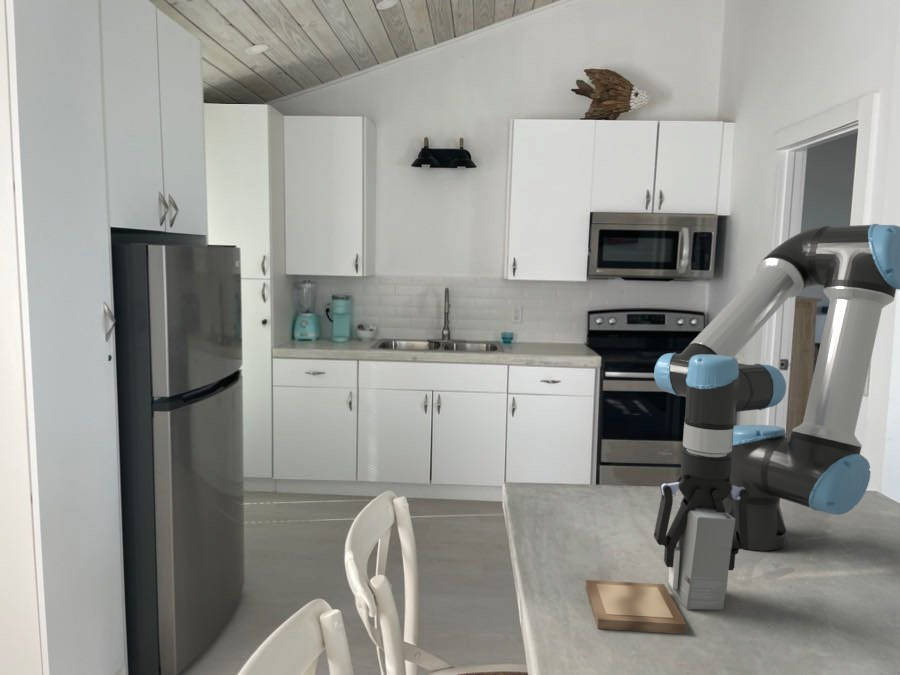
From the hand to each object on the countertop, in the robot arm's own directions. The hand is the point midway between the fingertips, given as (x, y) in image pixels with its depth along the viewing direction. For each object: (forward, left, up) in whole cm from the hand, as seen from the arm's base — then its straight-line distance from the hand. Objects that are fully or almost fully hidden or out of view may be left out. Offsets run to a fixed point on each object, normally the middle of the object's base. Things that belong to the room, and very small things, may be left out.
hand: (697, 586), depth 113 cm
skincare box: (0, 0, -2) cm, 2 cm away
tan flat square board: (+11, +5, -2) cm, 13 cm away
